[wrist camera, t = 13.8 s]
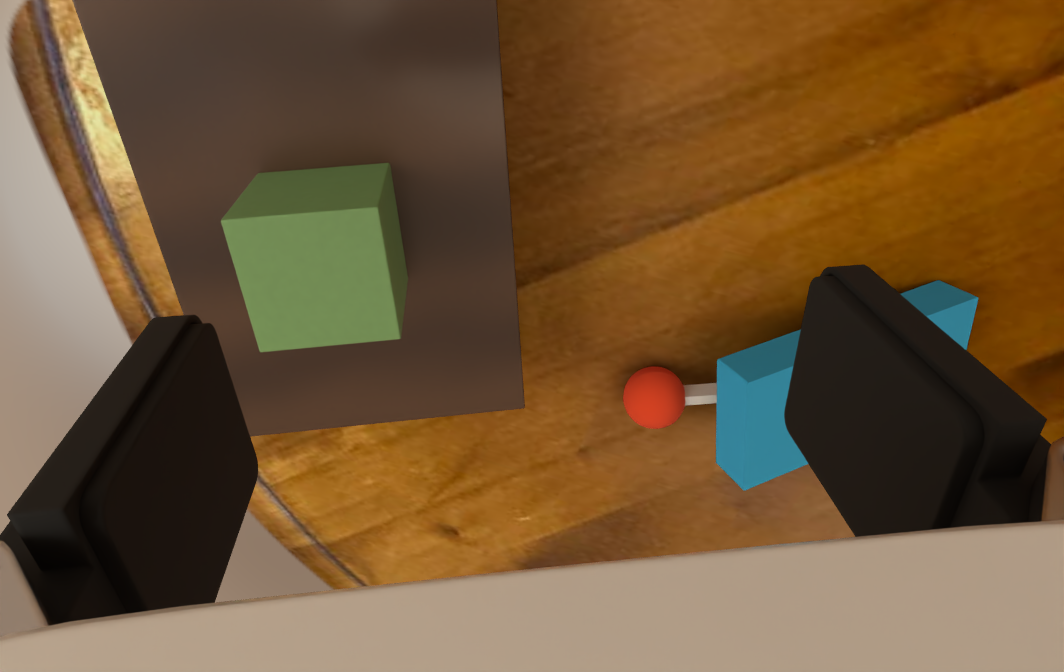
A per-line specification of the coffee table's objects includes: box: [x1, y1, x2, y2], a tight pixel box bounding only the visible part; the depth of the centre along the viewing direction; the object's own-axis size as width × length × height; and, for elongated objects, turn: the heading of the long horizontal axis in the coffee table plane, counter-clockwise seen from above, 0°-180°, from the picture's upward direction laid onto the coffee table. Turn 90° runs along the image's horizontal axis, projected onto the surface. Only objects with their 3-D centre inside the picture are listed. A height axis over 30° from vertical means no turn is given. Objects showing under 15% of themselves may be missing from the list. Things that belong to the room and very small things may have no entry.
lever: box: [623, 280, 978, 491], centre depth 38 cm, size 7×7×18 cm
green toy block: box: [221, 163, 408, 352], centre depth 25 cm, size 5×5×5 cm
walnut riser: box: [73, 0, 525, 436], centre depth 30 cm, size 20×14×5 cm
